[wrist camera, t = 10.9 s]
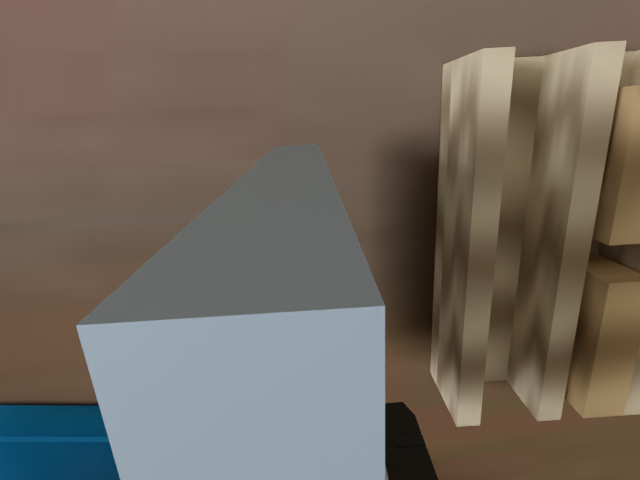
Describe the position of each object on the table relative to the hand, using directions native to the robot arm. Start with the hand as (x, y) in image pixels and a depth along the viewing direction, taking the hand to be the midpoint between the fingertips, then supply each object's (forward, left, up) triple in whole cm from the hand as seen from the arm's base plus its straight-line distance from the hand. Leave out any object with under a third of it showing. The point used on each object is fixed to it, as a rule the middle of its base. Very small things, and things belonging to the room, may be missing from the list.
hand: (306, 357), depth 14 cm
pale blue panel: (0, 0, -6) cm, 6 cm away
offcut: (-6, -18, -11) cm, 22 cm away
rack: (0, -15, -13) cm, 20 cm away
